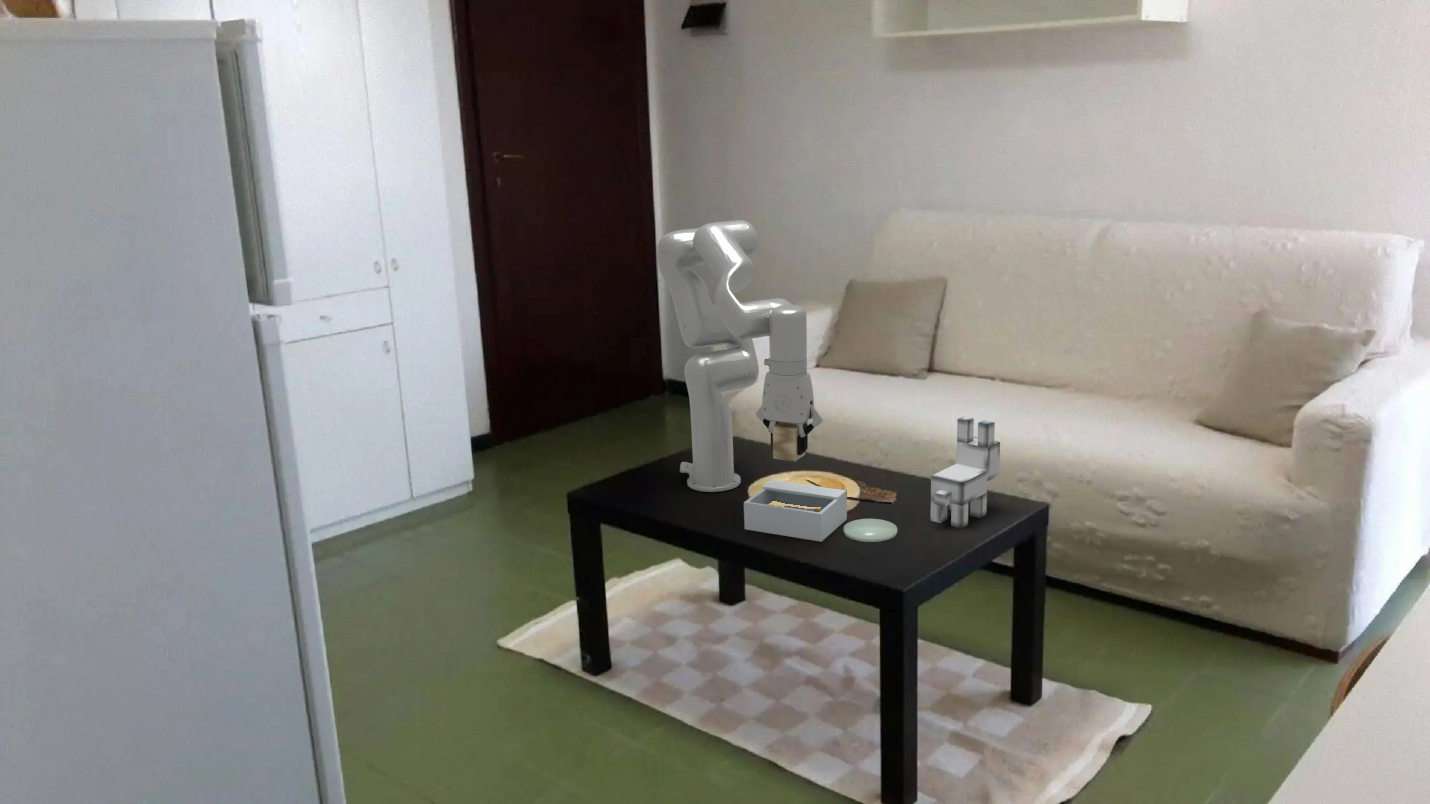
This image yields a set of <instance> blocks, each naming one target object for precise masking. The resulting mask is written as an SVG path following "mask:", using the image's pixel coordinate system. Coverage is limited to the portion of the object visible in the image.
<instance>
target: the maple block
mask: <svg viewBox="0 0 1430 804" xmlns="http://www.w3.org/2000/svg"><path fill="white" fill-rule="evenodd" d="M798 436H799V432H798V428H797V424H790V423H782V422H778V423H777V424H775V425H774V426H773V451H772V457H773V459H775V460H782V461H788V462H794V463H795V462H797V461H798V460H800V459H801V458H802V457H804V456H805V455H806V452H805V453H803V454H802V455H798V454H797V437H798Z"/></svg>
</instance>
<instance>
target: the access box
mask: <svg viewBox="0 0 1430 804" xmlns="http://www.w3.org/2000/svg"><path fill="white" fill-rule="evenodd" d="M847 499H848V498H847V490H842V489H835V488H827V487H820V486H818V485H812V484H804V483H797V482H791V481H785V480H784V481H782V480H776V479H771V480H769V481H768V482H767V483H765V484H764V485H763V486H761V489H760V490H759V491H758V492H756V493H755V494H754V495H752V496H750V497H749V498H748V499H746V500H745V501H744V502H743V517H744V518H743V519H744V522H743V523H744V530H748V531H753V532H759V533H764V534H765V533H766V534H772V535H777V536H778V535H779V536H784V537H785V536H786V537H790V538H791V537H792V538H796V539H802V540H807V541H808V540H810V541H815V542H821V543H822V542H823V541H824V540H825V539H826V538H828V536H830V535H831V534H833V532H835V531H836V529H838V527H840V526H841V525H842V524H843V523H844V522H846V521H847V519H848V518H847V517H848V514H847V513H848V512H847V511H848V509H847V507H848V505H847V503H848V501H847ZM772 501H777V502H781V503H785V504H793V505H800V506H807V507H821V509H822V510H821V511H820V512H815V510H811V509H804V508H798V507H791V506H784V507H781V506H774V505H768V504H769V503H771V502H772Z"/></svg>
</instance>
